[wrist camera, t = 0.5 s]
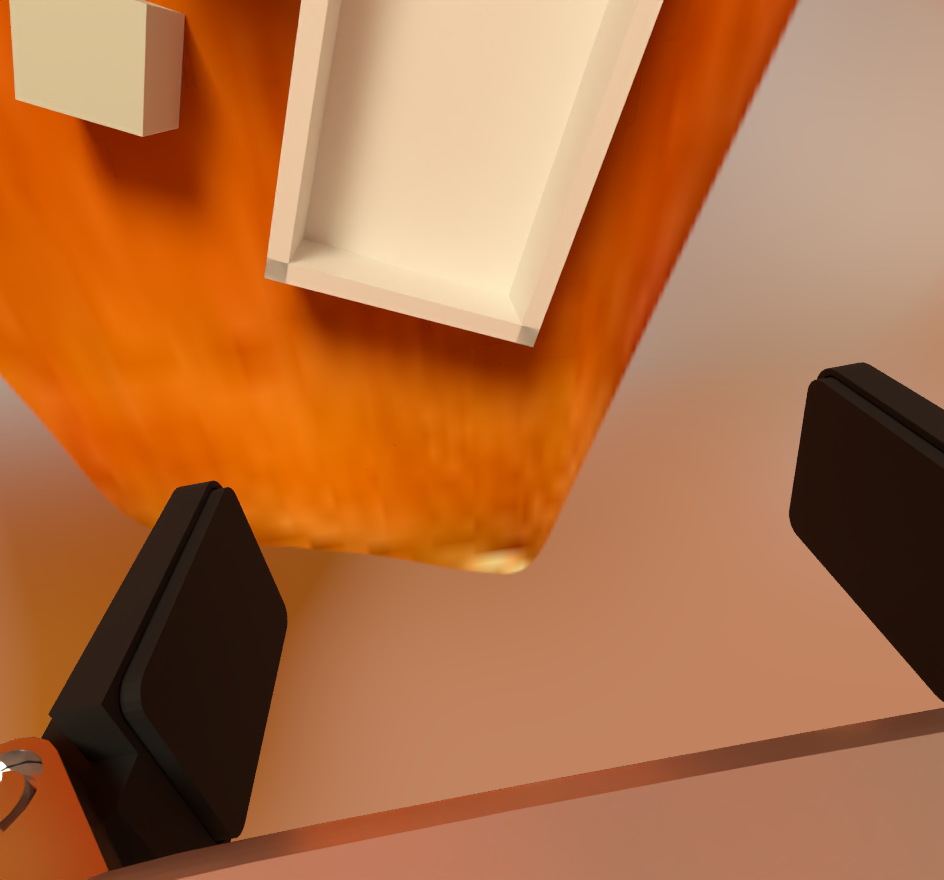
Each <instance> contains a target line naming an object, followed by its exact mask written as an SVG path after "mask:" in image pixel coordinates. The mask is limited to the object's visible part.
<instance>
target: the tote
mask: <svg viewBox="0 0 944 880" xmlns="http://www.w3.org/2000/svg"><path fill="white" fill-rule="evenodd" d="M662 3H663V0H301V7H300V14H299V22H298V29H297V37H296V45H295V52H294V60H293V67H292V75H291V82H290V90H289V97H288V105H287V112H286V120H285V127H284V135H283V142H282V150H281V157H280V165H279V172H278V180H277V187H276V195H275V202H274V210H273V218H272V225H271V233H270V240H269V248H268V255H267V263H266V270H265V278H266V279H270V280H274V281H278V282H282V283H286V284H290V285H294V286H297V287H301V288H305V289H309V290H313V291H317V292H321V293H325V294H329V295H332V296H336V297H340V298H344V299H348V300H352V301H356V302H360V303H364V304H367V305H371V306H375V307H379V308H383V309H387V310H391V311H395V312H398V313H402V314H406V315H410V316H414V317H418V318H422V319H426V320H430V321H433V322H437V323H441V324H445V325H449V326H453V327H457V328H461V329H465V330H468V331H472V332H476V333H480V334H484V335H488V336H492V337H496V338H500V339H503V340H507V341H511V342H515V343H519V344H523V345H527V346H531V347H533V346H534V343H535V341H536V338H537V335H538V333H539V330H540V327H541V325H542V322H543V319H544V317H545V314H546V311H547V309H548V306H549V303H550V301H551V298H552V296H553V293H554V290H555V288H556V285H557V282H558V280H559V277H560V274H561V272H562V269H563V266H564V264H565V261H566V258H567V256H568V253H569V250H570V248H571V245H572V242H573V240H574V237H575V234H576V232H577V229H578V226H579V224H580V221H581V218H582V216H583V213H584V210H585V208H586V205H587V202H588V200H589V197H590V194H591V192H592V189H593V186H594V184H595V181H596V178H597V176H598V173H599V170H600V168H601V165H602V163H603V160H604V157H605V155H606V152H607V149H608V147H609V144H610V141H611V139H612V136H613V133H614V131H615V128H616V125H617V123H618V120H619V117H620V115H621V112H622V109H623V107H624V104H625V101H626V99H627V96H628V93H629V91H630V88H631V85H632V83H633V80H634V77H635V75H636V72H637V69H638V67H639V64H640V61H641V59H642V56H643V53H644V51H645V48H646V45H647V43H648V40H649V38H650V35H651V32H652V30H653V27H654V24H655V22H656V19H657V16H658V14H659V11H660V8H661V6H662Z"/></svg>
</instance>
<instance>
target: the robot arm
mask: <svg viewBox="0 0 944 880" xmlns="http://www.w3.org/2000/svg"><path fill="white" fill-rule="evenodd" d="M789 518H790V523H791V526H792V528H793V530H794V532H795V533H796V535H797V536H798V537H799V538H800V539H801V540H802V542H803V543H804V544H805V545H806V546H807V547H808V549H809V550H810V551H811V552H812V553H813V554H814V555H815V557H816V558H817V559H818V560H819V561H820V562H821V564H822V565H823V566H824V567H825V568H826V569H827V570H828V572H829V573H830V574H831V575H832V576H833V577H834V578H835V580H836V581H837V582H838V583H839V584H840V585H841V587H843V589H844V590H845V591H846V592H847V593H848V595H849V596H850V597H851V598H852V599H853V600H854V601H855V603H856V604H857V605H858V606H859V607H860V608H861V610H862V611H863V612H864V613H865V614H866V615H867V617H868V618H869V619H870V620H871V621H872V622H873V623H874V625H875V626H876V627H877V628H878V629H879V630H880V632H882V634H883V635H884V636H885V637H886V638H887V639H888V641H889V642H890V643H891V644H892V645H893V646H894V648H895V649H896V650H897V651H898V652H899V653H900V655H901V656H902V657H903V658H904V659H905V660H906V662H907V663H908V664H909V665H910V666H911V667H912V668H913V670H914V671H916V673H917V674H918V675H919V676H920V678H921V679H922V680H923V681H924V682H925V683H926V685H927V686H928V687H929V688H930V689H931V690H932V691H933V693H934V694H935V695H936V696H937V697H938V698H939V699H941V700H942V701H943V702H944V410H943V409H942V408H940V407H938V406H937V405H935V404H933V403H932V402H930V401H929V400H927V399H925V398H924V397H922V396H920V395H919V394H917V393H915V392H914V391H912V390H911V389H909V388H907V387H905V386H904V385H902V384H901V383H899V382H897V381H896V380H894V379H892V378H891V377H889V376H887V375H886V374H884V373H882V372H881V371H879V370H877V369H876V368H874V367H872V366H871V365H869V364H866V363H855V364H850V365H844V366H839V367H834V368H828V369H825V370H823V371H822V372H821V373H820V374H819V376H818V378H817V380H814V381H812V382H811V384H810V385H809V388H808V392H807V398H806V405H805V411H804V418H803V424H802V431H801V437H800V445H799V450H798V457H797V464H796V470H795V477H794V483H793V490H792V497H791V503H790V510H789ZM286 629H287V612H286V608H285V604H284V602H283V600H282V597H281V595H280V593H279V591H278V588H277V586H276V584H275V582H274V579H273V577H272V575H271V573H270V571H269V568H268V566H267V564H266V561H265V559H264V557H263V555H262V553H261V550H260V548H259V546H258V544H257V541H256V539H255V537H254V535H253V532H252V530H251V528H250V526H249V523H248V521H247V519H246V517H245V514H244V512H243V510H242V508H241V505H240V503H239V501H238V499H237V496H236V494H235V492H234V491H233V490H232V489H231V488H229V487H227V488H222V486H221V485H220V484H219V483H218V482H216V481H209V482H204V483H198V484H193V485H187V486H182V487H178V488H176V490H175V491H174V492H173V494H172V496H171V497H170V499H169V501H168V503H167V504H166V506H165V508H164V510H163V512H162V513H161V515H160V517H159V519H158V520H157V522H156V524H155V526H154V528H153V529H152V531H151V533H150V535H149V537H148V538H147V540H146V542H145V544H144V545H143V547H142V549H141V551H140V552H139V554H138V556H137V558H136V560H135V561H134V563H133V565H132V567H131V568H130V570H129V572H128V574H127V576H126V577H125V579H124V581H123V583H122V585H121V586H120V588H119V590H118V592H117V593H116V595H115V597H114V599H113V600H112V602H111V604H110V606H109V608H108V610H107V611H106V613H105V615H104V616H103V618H102V620H101V622H100V624H99V625H98V627H97V629H96V631H95V632H94V634H93V636H92V638H91V640H90V641H89V643H88V645H87V647H86V648H85V650H84V652H83V654H82V656H81V657H80V659H79V661H78V663H77V664H76V666H75V668H74V670H73V672H72V674H71V675H70V677H69V679H68V680H67V682H66V684H65V686H64V688H63V689H62V691H61V693H60V695H59V697H58V698H57V700H56V702H55V704H54V705H53V707H52V709H51V711H50V713H49V715H50V717H52V720H51V721H50V723H49V725H48V727H47V729H46V730H45V732H44V734H43V736H42V738H38V737H27V738H18V739H14V740H11V741H8V742H6V743H3V744H0V880H944V708H940V709H934V710H929V711H923V712H917V713H912V714H906V715H901V716H895V717H889V718H884V719H878V720H873V721H867V722H862V723H856V724H850V725H845V726H839V727H834V728H828V729H823V730H817V731H811V732H806V733H800V734H795V735H789V736H784V737H779V738H773V739H768V740H762V741H757V742H751V743H746V744H740V745H735V746H730V747H724V748H719V749H714V750H708V751H703V752H697V753H692V754H686V755H681V756H675V757H670V758H665V759H659V760H654V761H648V762H643V763H638V764H633V765H627V766H622V767H616V768H611V769H605V770H600V771H595V772H589V773H584V774H579V775H573V776H568V777H562V778H557V779H552V780H546V781H541V782H536V783H531V784H525V785H520V786H514V787H510V788H504V789H499V790H494V791H488V792H483V793H478V794H473V795H467V796H462V797H457V798H452V799H446V800H441V801H436V802H431V803H426V804H421V805H415V806H410V807H405V808H399V809H394V810H389V811H384V812H378V813H373V814H368V815H363V816H357V817H352V818H347V819H342V820H336V821H331V822H326V823H321V824H316V825H311V826H306V827H302V828H297V829H292V830H287V831H282V832H277V833H273V834H268V835H263V836H258V837H254V838H249V839H244V840H239V841H234V842H230V841H231V839H232V838H237V837H238V836H239V835H240V834H241V832H242V830H243V827H244V824H245V820H246V815H247V811H248V806H249V802H250V797H251V792H252V788H253V783H254V778H255V773H256V769H257V765H258V760H259V755H260V750H261V745H262V741H263V737H264V732H265V727H266V723H267V717H268V713H269V709H270V704H271V699H272V695H273V690H274V685H275V681H276V676H277V671H278V667H279V662H280V657H281V653H282V647H283V643H284V638H285V634H286Z"/></svg>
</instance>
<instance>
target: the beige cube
mask: <svg viewBox="0 0 944 880" xmlns="http://www.w3.org/2000/svg"><path fill="white" fill-rule="evenodd" d="M9 1H10V17H11V33H12V49H13V66H14V82H15V98H16V100H19V101H23V102H26V103H30V104H33V105H36V106H40V107H43V108H46V109H50V110H53V111H57V112H60V113H63V114H67V115H70V116H73V117H77V118H80V119H84V120H87V121H90V122H94V123H97V124H100V125H104V126H107V127H111V128H114V129H117V130H121V131H124V132H127V133H131V134H134V135H138V136H141V137H145V136H149V135H153V134H157V133H161V132H165V131H169V130H173V129H177V128H179V113H180V95H181V78H182V60H183V42H184V24H185V14H183V13H180V12H177V11H174V10H171V9H168V8H165V7H162V6H159V5H157V4H154V3H151V2H148V1H145V0H9Z"/></svg>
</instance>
